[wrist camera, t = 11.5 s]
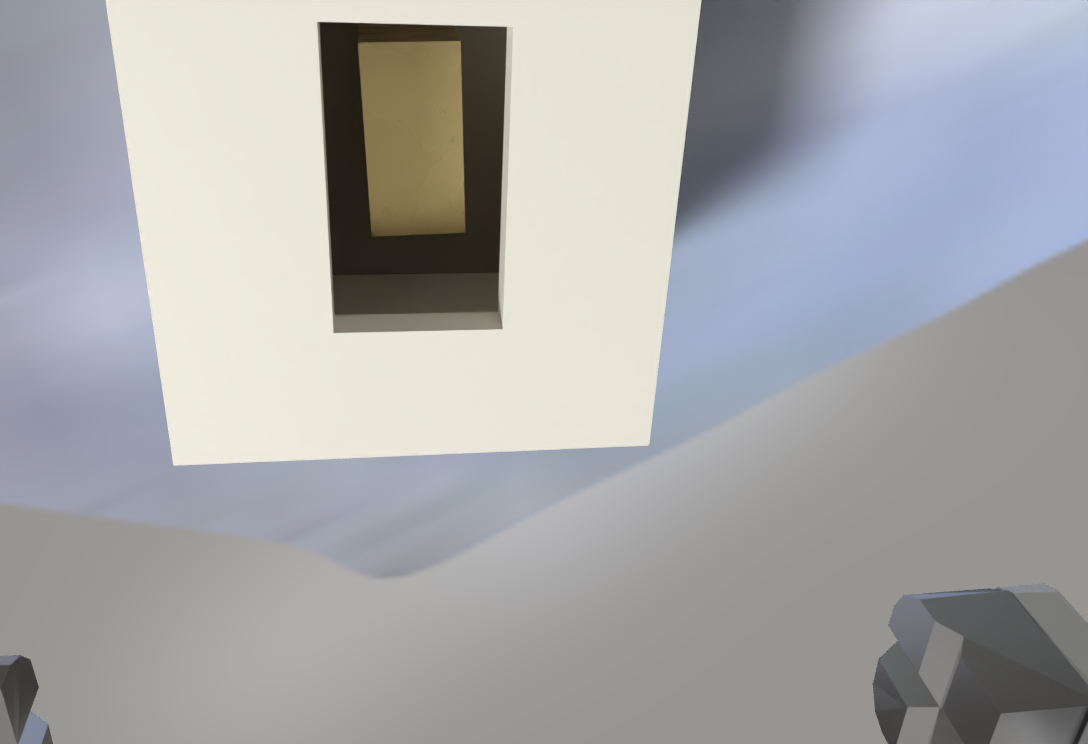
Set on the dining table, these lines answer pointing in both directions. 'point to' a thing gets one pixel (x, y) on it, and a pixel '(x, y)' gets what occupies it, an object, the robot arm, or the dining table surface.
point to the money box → (406, 260)
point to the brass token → (413, 127)
